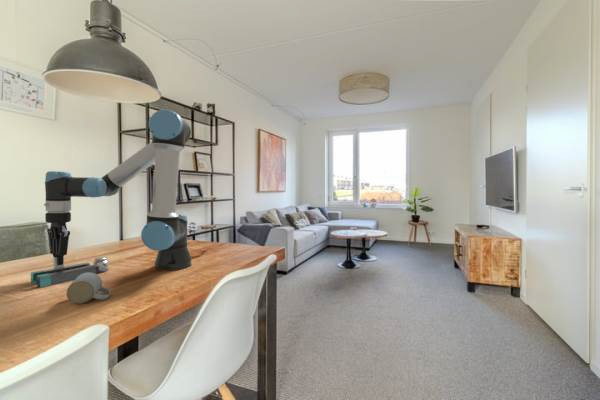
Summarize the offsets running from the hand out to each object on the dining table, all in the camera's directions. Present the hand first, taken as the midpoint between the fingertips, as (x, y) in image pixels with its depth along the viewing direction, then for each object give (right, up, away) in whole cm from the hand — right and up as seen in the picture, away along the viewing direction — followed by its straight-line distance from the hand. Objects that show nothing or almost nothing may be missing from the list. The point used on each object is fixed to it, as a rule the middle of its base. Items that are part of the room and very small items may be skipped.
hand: (58, 272), depth 112 cm
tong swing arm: (+5, -2, +1) cm, 5 cm away
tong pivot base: (+6, -2, 0) cm, 7 cm away
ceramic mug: (+28, -3, -21) cm, 35 cm away
